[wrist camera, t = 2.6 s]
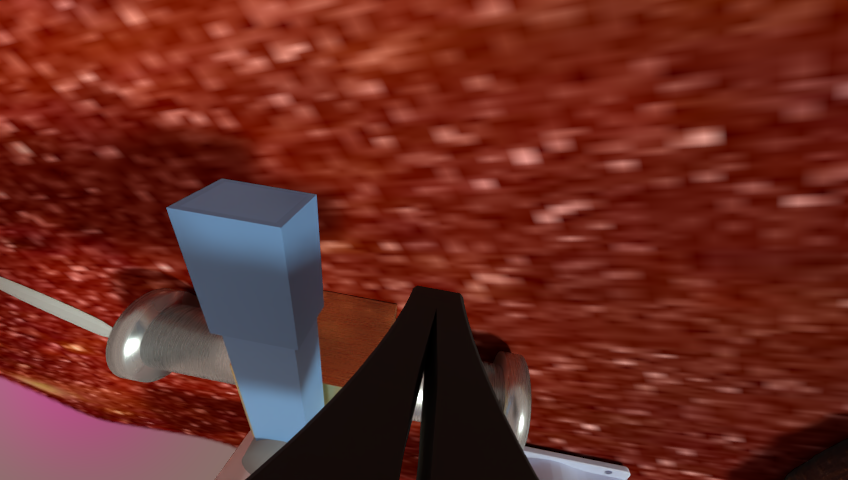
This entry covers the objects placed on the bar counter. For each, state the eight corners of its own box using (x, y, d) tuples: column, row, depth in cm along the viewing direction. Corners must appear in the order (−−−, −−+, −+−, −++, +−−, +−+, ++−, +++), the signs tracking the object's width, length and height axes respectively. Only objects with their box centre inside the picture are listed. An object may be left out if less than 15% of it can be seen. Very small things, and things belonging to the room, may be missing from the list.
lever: (339, 444, 15) (321, 497, 13) (275, 431, 15) (249, 482, 14) (327, 196, 8) (287, 237, 6) (211, 176, 8) (140, 210, 7)
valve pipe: (525, 327, 17) (544, 427, 12) (498, 393, 20) (505, 491, 16) (170, 262, 18) (71, 333, 13) (198, 335, 21) (125, 411, 17)
